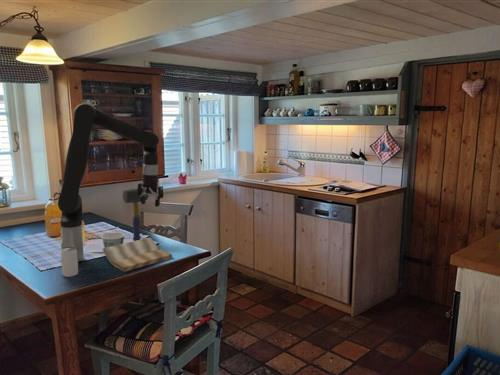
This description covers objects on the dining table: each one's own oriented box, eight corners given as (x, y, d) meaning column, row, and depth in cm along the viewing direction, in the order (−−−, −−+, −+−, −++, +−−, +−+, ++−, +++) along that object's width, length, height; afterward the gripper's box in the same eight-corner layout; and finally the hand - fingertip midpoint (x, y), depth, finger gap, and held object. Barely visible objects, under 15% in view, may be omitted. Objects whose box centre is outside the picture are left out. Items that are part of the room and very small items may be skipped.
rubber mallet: (128, 245, 220) (127, 190, 215) (123, 241, 226) (121, 188, 221) (150, 241, 228) (148, 188, 223) (144, 237, 234) (142, 186, 228)
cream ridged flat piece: (112, 264, 192) (113, 261, 191) (102, 251, 197) (103, 248, 196) (159, 252, 210) (160, 249, 209) (149, 240, 216) (150, 237, 215)
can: (65, 271, 183) (63, 246, 181) (80, 271, 184) (78, 246, 182) (60, 277, 177) (58, 251, 175) (75, 277, 177) (73, 250, 175)
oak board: (124, 271, 184) (124, 267, 184) (113, 265, 191) (113, 261, 191) (172, 258, 203) (172, 254, 202) (160, 253, 210) (160, 249, 209)
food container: (129, 244, 222) (128, 232, 221) (119, 251, 211) (119, 239, 209) (107, 243, 224) (107, 231, 222) (97, 250, 212) (97, 238, 211)
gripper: (134, 172, 201) (133, 204, 204) (157, 175, 195) (157, 208, 198) (144, 171, 208) (143, 202, 211) (166, 174, 202) (166, 205, 205)
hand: (150, 205), depth 205 cm, fingers open, 8 cm apart
